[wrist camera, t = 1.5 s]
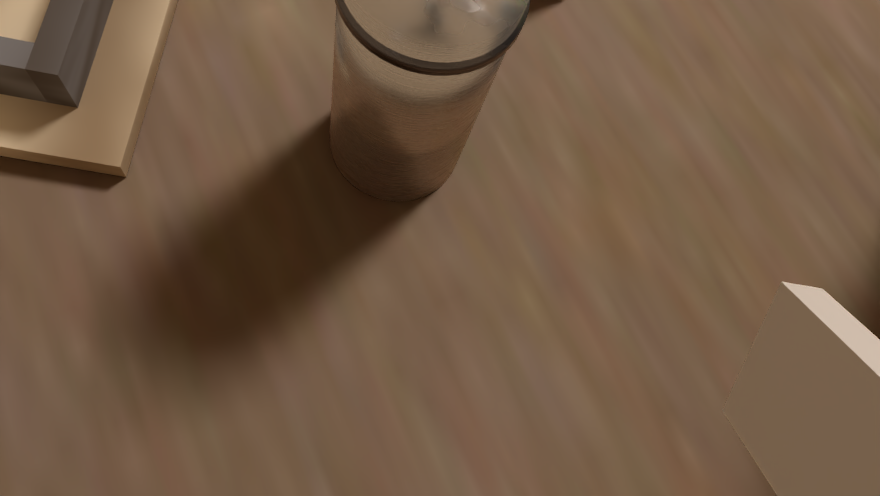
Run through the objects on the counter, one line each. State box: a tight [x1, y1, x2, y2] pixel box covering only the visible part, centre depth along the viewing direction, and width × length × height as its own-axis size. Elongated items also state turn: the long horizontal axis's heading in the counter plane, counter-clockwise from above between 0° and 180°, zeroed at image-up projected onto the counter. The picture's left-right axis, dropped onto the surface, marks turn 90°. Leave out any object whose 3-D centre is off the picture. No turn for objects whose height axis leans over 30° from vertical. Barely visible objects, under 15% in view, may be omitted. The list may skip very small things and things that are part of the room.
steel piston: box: [330, 0, 530, 201], centre depth 27 cm, size 6×6×12 cm
